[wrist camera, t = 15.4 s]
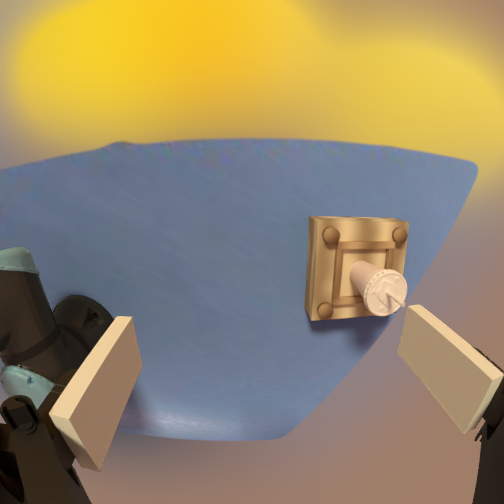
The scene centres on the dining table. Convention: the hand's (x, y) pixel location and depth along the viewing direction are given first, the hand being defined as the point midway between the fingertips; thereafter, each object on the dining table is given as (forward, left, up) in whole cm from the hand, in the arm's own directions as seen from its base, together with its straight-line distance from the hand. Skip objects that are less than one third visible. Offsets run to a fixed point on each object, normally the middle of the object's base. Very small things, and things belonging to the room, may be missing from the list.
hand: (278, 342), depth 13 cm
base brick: (+18, -7, -35) cm, 40 cm away
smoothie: (+18, -7, -30) cm, 35 cm away
